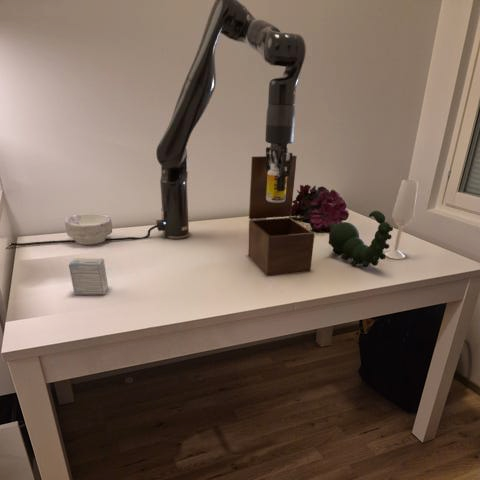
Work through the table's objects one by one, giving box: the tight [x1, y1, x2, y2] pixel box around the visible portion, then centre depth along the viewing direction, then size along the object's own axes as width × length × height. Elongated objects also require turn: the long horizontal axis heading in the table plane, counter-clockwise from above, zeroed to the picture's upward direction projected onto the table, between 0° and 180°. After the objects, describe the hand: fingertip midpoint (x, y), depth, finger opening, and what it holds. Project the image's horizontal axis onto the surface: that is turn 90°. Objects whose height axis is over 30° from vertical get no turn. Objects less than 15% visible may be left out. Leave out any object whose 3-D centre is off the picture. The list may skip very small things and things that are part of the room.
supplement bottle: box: [266, 163, 287, 203], centre depth 118 cm, size 6×6×10 cm
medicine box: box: [68, 257, 109, 296], centre depth 109 cm, size 8×4×9 cm, turn 92°
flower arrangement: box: [288, 184, 350, 233], centre depth 170 cm, size 31×20×15 cm, turn 22°
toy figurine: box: [327, 210, 394, 268], centre depth 131 cm, size 9×19×25 cm
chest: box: [247, 217, 315, 277], centre depth 129 cm, size 18×14×12 cm
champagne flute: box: [384, 179, 419, 260], centre depth 135 cm, size 7×7×24 cm
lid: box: [248, 155, 298, 220], centre depth 131 cm, size 18×14×6 cm
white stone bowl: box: [64, 213, 113, 246], centre depth 146 cm, size 15×15×8 cm
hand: (276, 188), depth 119 cm, fingers closed on supplement bottle, 5 cm apart
